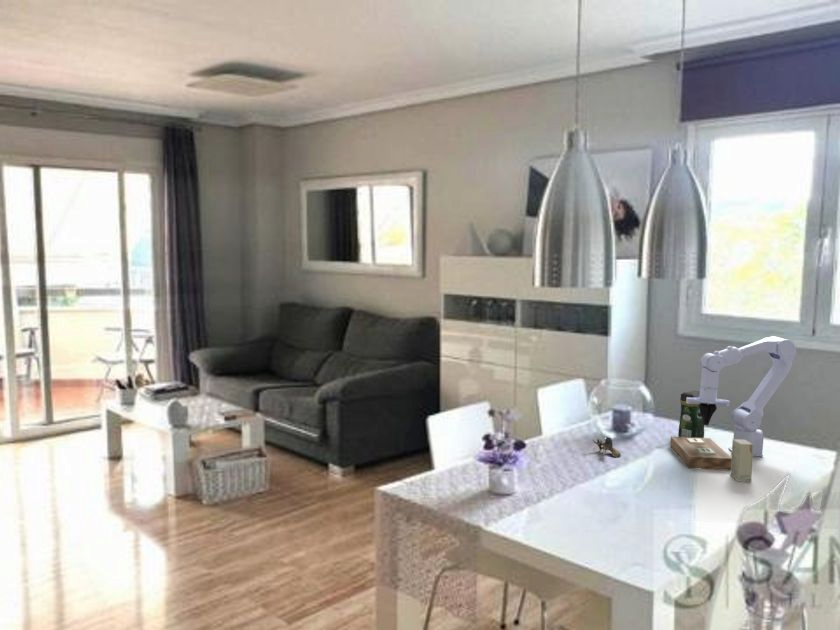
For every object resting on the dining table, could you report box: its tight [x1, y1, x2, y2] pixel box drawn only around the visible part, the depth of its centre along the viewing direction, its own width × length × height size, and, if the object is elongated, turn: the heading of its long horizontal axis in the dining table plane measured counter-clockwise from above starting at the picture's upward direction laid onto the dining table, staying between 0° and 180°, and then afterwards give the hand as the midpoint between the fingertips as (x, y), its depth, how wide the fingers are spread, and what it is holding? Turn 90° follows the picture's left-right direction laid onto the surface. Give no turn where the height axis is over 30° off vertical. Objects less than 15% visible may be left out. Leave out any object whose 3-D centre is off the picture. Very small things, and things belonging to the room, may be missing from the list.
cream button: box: [686, 438, 704, 445], centre depth 253 cm, size 5×5×4 cm
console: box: [669, 436, 732, 471], centre depth 247 cm, size 14×24×4 cm, turn 175°
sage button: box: [696, 448, 715, 455], centre depth 241 cm, size 5×5×4 cm
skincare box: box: [730, 438, 754, 483], centre depth 227 cm, size 6×4×12 cm
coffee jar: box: [677, 390, 705, 438], centre depth 271 cm, size 10×8×19 cm
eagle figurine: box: [592, 437, 622, 459], centre depth 250 cm, size 8×7×9 cm
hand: (705, 424), depth 253 cm, fingers closed
